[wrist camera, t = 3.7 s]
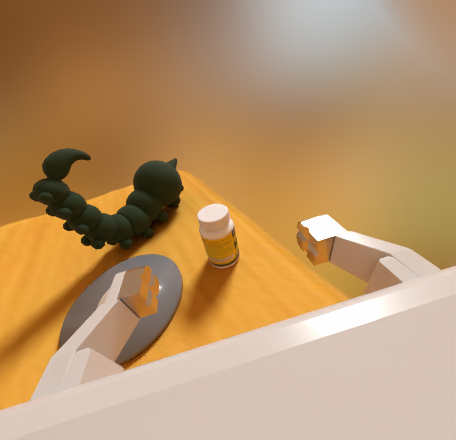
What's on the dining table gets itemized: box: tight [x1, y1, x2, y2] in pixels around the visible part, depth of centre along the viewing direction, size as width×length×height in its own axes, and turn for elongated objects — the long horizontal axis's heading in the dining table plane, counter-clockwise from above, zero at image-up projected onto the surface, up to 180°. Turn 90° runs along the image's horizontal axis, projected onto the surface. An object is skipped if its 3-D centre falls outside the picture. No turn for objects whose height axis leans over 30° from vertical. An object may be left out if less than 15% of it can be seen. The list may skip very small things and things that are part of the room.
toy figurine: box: [29, 149, 184, 250], centre depth 34 cm, size 9×19×25 cm
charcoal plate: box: [60, 254, 183, 365], centre depth 24 cm, size 15×15×1 cm
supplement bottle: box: [197, 204, 239, 269], centre depth 25 cm, size 5×5×8 cm
